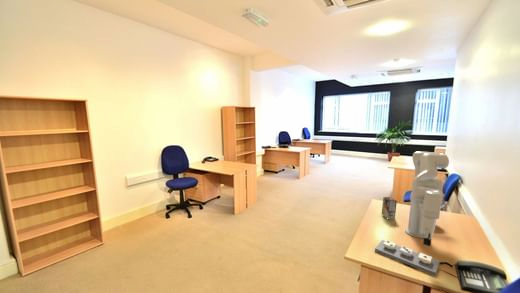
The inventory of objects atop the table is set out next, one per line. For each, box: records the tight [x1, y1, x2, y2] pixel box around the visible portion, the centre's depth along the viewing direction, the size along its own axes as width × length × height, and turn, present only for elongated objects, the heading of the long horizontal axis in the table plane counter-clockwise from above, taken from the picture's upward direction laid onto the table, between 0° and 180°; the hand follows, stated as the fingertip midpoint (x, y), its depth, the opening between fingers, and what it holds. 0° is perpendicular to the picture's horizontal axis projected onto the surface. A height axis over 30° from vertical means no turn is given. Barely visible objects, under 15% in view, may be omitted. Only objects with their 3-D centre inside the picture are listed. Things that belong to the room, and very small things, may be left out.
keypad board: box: [374, 239, 441, 277], centre depth 132 cm, size 14×30×2 cm, turn 45°
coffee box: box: [381, 196, 398, 220], centre depth 185 cm, size 9×6×16 cm
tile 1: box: [418, 252, 433, 264], centre depth 126 cm, size 6×6×4 cm
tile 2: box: [383, 239, 397, 250], centre depth 138 cm, size 6×6×4 cm
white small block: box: [400, 245, 414, 257], centre depth 132 cm, size 6×6×4 cm
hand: (426, 244), depth 124 cm, fingers closed
